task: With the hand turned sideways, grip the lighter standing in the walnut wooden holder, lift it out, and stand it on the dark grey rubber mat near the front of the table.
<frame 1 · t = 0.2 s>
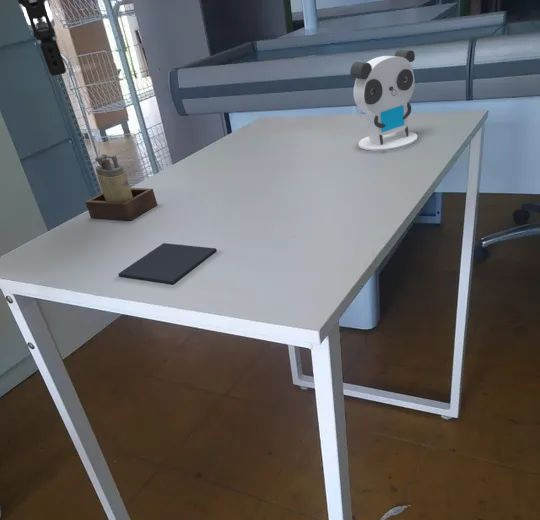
hand: (58, 71, 79), 24 cm above the table, tool pointing down, fingers open, 8 cm apart
mat: (168, 263, 77), on the table
lighter: (124, 212, 99), resting in holder
panda figurine: (386, 142, 107), on the table
holder: (124, 211, 99), on the table
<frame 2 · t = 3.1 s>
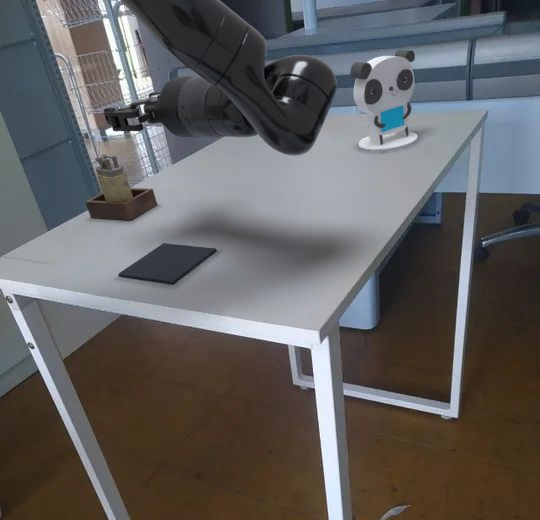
hand: (130, 108, 82), 18 cm above the table, tool horizontal, fingers open, 8 cm apart
nothing on the table moved.
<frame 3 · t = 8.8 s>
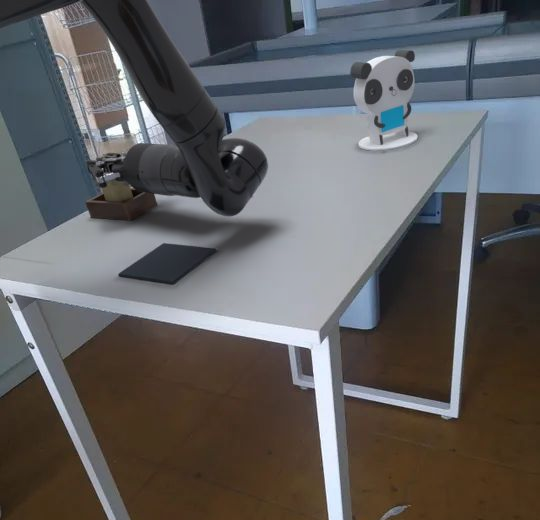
hand: (99, 163, 96), 9 cm above the table, tool horizontal, fingers closed on lighter, 3 cm apart
lighter: (124, 212, 99), resting in holder, touching gripper
everything else where it was.
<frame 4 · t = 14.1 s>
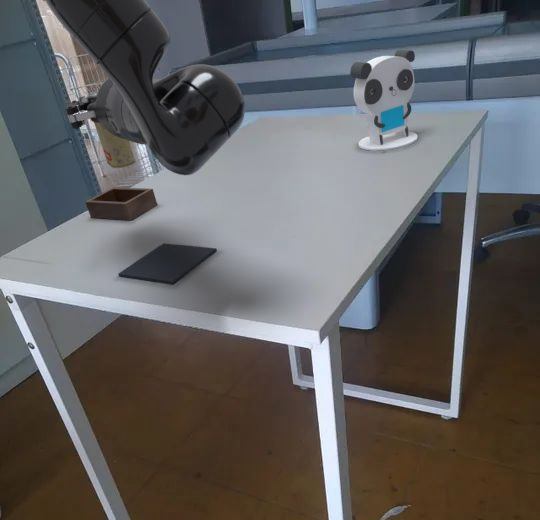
hand: (96, 101, 79), 20 cm above the table, tool horizontal, fingers closed on lighter, 3 cm apart
lighter: (123, 164, 82), point 11 cm above the table, touching gripper
everything else where it was.
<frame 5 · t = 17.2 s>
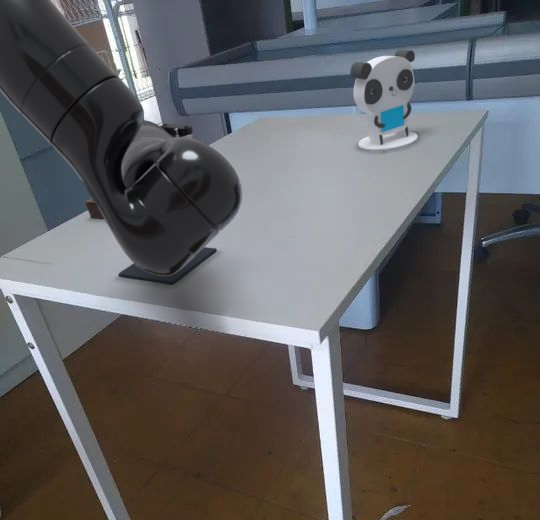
hand: (129, 137, 70), 17 cm above the table, tool horizontal, fingers closed on lighter, 3 cm apart
lighter: (153, 209, 72), point 8 cm above the table, touching gripper
everything else where it was.
when the fingers open (9 cm above the table, at t = 19.6 s): lighter stays where it is, resting on mat.
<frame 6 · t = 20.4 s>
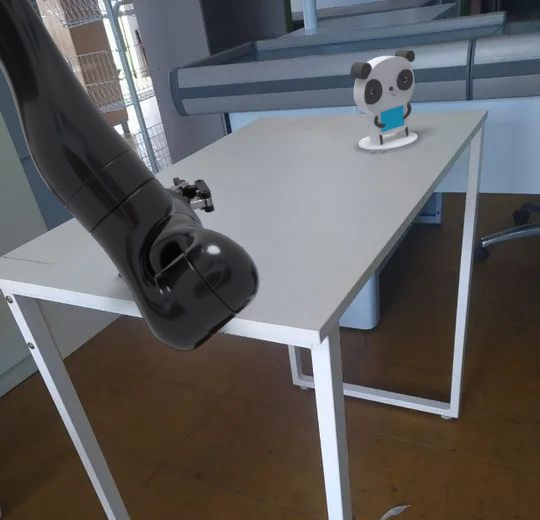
hand: (146, 193, 73), 10 cm above the table, tool horizontal, fingers open, 8 cm apart
lighter: (169, 262, 77), resting on mat
everything else where it was.
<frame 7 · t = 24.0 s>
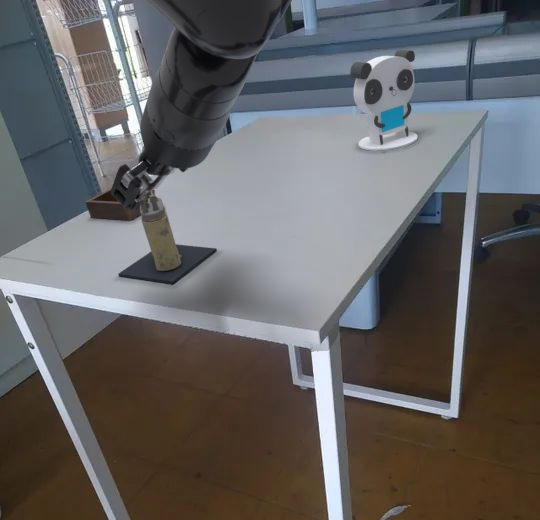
hand: (155, 184, 68), 12 cm above the table, tool tilted 55°, fingers open, 8 cm apart
nothing on the table moved.
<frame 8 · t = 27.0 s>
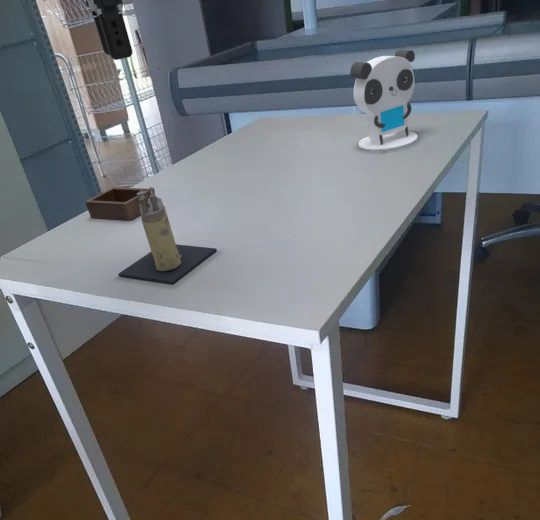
hand: (118, 55, 59), 26 cm above the table, tool pointing down, fingers open, 8 cm apart
nothing on the table moved.
at the end: lighter inside the target area on the mat (0.3 cm from its centre), point 0.2 cm above the mat's base; lighter tilted 0°; lighter touching mat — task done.
